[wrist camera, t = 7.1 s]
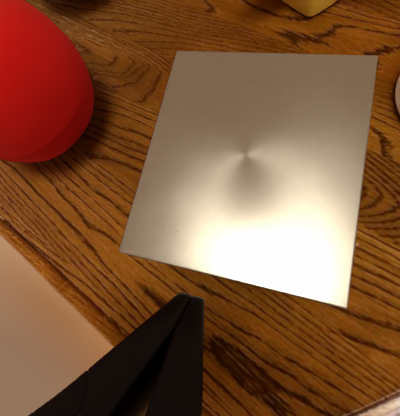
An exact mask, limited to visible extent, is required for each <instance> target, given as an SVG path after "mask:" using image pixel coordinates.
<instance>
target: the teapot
mask: <svg viewBox="0 0 400 416" xmlns="http://www.w3.org/2000/svg"><path fill="white" fill-rule="evenodd" d="M281 1H283V2H284V3H286V4H287V5H289V6H290V7H292V8H293V9H295V10H296V11H298V12H300V13H301V14H303V15H305V16H307V17H311V16H314V15H316V14H318V13H320V12H321V11H323V10H324V9H326V8H327V7H329V6H330V5H332V4H333V3H335V2H336V1H337V0H281Z"/></svg>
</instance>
